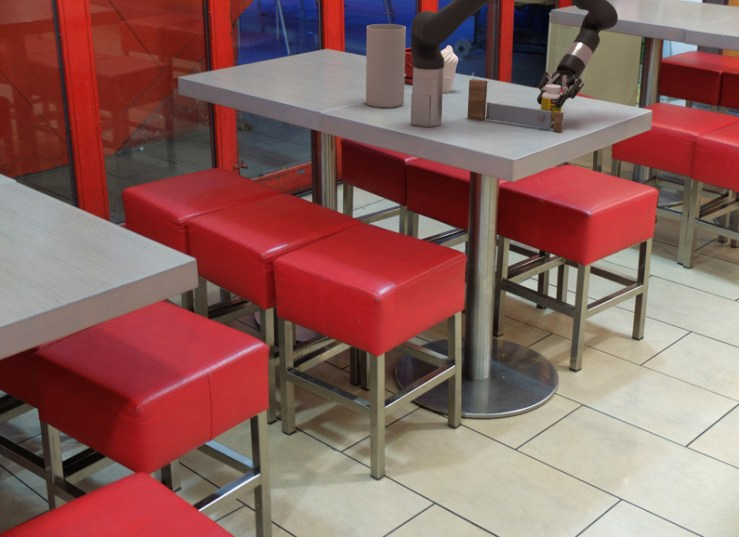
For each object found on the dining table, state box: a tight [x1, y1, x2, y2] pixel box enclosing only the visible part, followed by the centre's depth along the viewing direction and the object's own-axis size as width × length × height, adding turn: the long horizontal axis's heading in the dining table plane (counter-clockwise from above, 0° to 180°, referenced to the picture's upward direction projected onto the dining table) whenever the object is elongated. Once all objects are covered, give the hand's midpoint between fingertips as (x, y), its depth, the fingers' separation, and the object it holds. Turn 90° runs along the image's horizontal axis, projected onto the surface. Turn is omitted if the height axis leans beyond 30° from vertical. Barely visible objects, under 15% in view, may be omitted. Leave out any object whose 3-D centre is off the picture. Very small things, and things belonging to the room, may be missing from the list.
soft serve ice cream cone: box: [440, 45, 459, 94], centre depth 344 cm, size 8×8×16 cm
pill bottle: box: [540, 83, 563, 125], centre depth 301 cm, size 6×6×11 cm
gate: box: [485, 101, 552, 129], centre depth 302 cm, size 2×21×5 cm, turn 58°
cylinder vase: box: [365, 23, 407, 109], centre depth 323 cm, size 12×12×25 cm
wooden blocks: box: [466, 78, 564, 133], centre depth 302 cm, size 2×30×12 cm, turn 58°
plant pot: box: [404, 47, 413, 85], centre depth 358 cm, size 13×13×12 cm
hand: (548, 104), depth 300 cm, fingers closed on pill bottle, 6 cm apart
